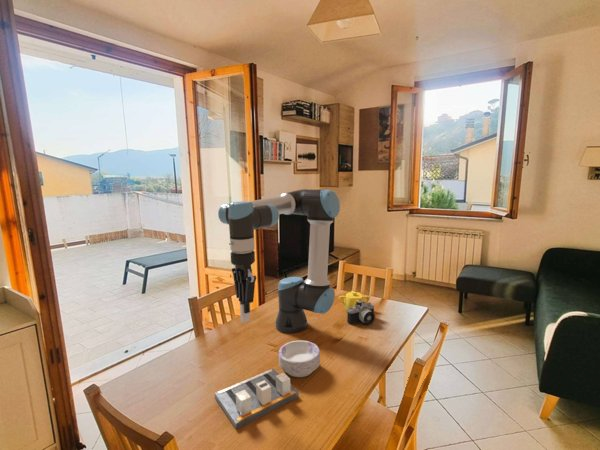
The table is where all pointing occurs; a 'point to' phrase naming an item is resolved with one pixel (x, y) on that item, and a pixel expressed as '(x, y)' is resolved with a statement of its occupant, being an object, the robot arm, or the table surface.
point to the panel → (243, 400)
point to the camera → (361, 313)
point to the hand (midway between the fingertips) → (245, 320)
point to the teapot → (352, 299)
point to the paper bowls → (299, 358)
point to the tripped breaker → (263, 392)
